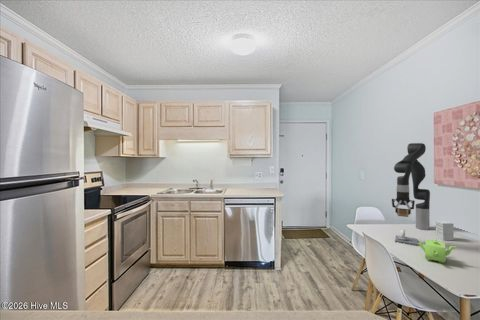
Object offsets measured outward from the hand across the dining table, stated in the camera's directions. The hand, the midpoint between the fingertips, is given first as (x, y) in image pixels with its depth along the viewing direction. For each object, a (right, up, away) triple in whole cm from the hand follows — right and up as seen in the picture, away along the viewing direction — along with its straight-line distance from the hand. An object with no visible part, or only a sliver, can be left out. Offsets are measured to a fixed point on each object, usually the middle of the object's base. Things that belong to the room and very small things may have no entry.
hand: (402, 213), depth 171 cm
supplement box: (+33, -20, +4) cm, 39 cm away
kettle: (-1, -21, -30) cm, 36 cm away
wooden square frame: (0, -1, 0) cm, 1 cm away
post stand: (+2, -20, 0) cm, 20 cm away
